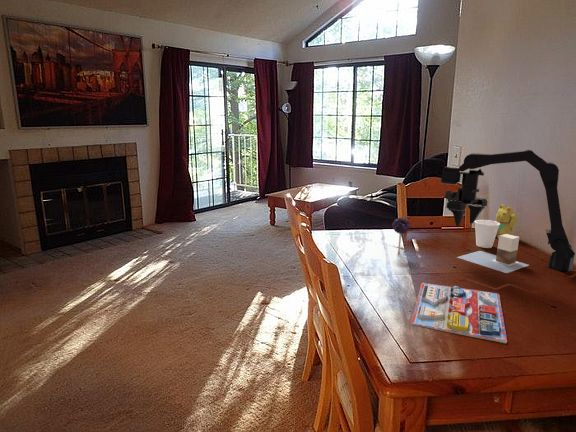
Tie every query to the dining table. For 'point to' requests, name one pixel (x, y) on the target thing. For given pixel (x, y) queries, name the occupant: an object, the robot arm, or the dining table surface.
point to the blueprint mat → (491, 261)
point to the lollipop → (400, 228)
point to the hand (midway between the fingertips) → (464, 224)
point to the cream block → (508, 242)
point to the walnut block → (506, 256)
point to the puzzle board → (460, 312)
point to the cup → (486, 232)
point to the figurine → (505, 220)
